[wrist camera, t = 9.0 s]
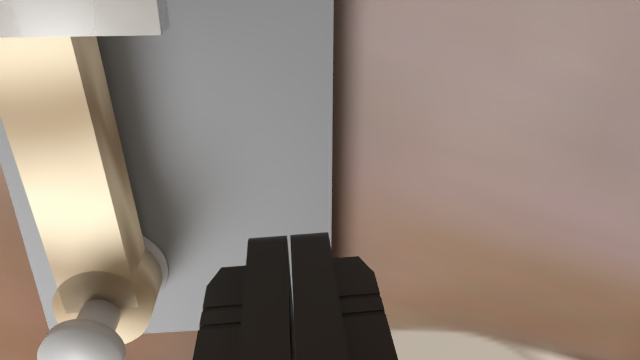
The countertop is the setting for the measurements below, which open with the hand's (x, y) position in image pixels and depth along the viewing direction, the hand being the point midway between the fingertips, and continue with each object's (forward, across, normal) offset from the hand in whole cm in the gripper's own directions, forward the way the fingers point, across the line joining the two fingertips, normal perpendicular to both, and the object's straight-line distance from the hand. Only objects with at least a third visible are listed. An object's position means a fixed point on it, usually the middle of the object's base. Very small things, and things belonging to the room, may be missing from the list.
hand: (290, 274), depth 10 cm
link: (+12, +8, +1) cm, 15 cm away
